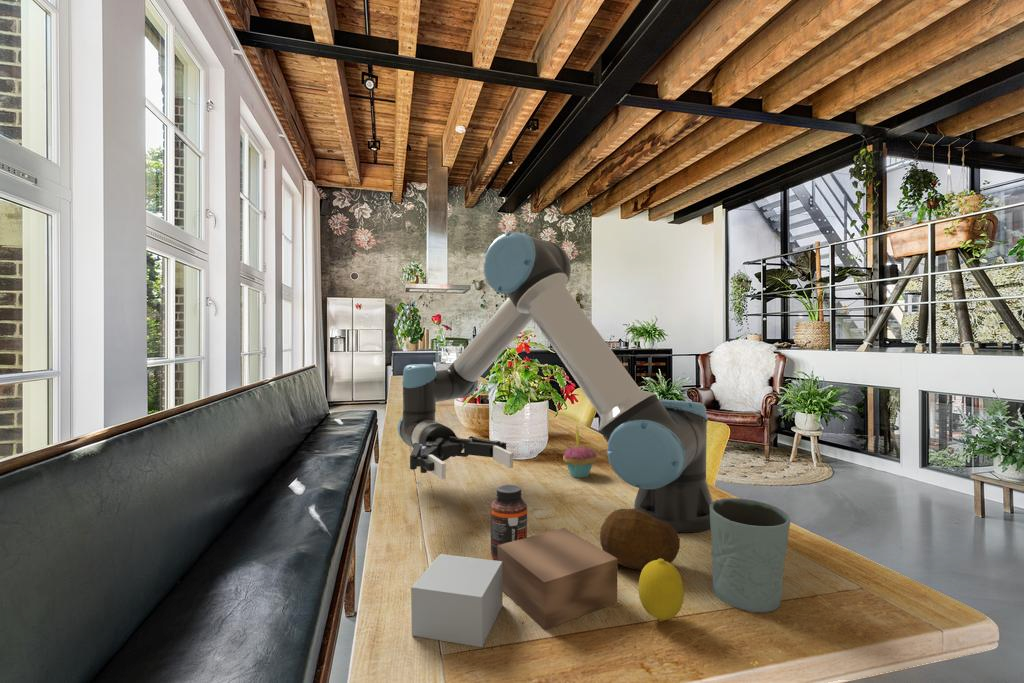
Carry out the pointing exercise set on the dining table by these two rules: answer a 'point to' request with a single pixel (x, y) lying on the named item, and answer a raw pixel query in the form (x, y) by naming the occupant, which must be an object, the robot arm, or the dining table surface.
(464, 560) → the grey block
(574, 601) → the walnut block
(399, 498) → the dining table surface
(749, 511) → the grey green planter pot
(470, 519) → the dining table surface
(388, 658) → the dining table surface
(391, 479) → the dining table surface
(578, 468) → the cupcake
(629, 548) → the potato
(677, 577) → the lemon
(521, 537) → the supplement bottle
